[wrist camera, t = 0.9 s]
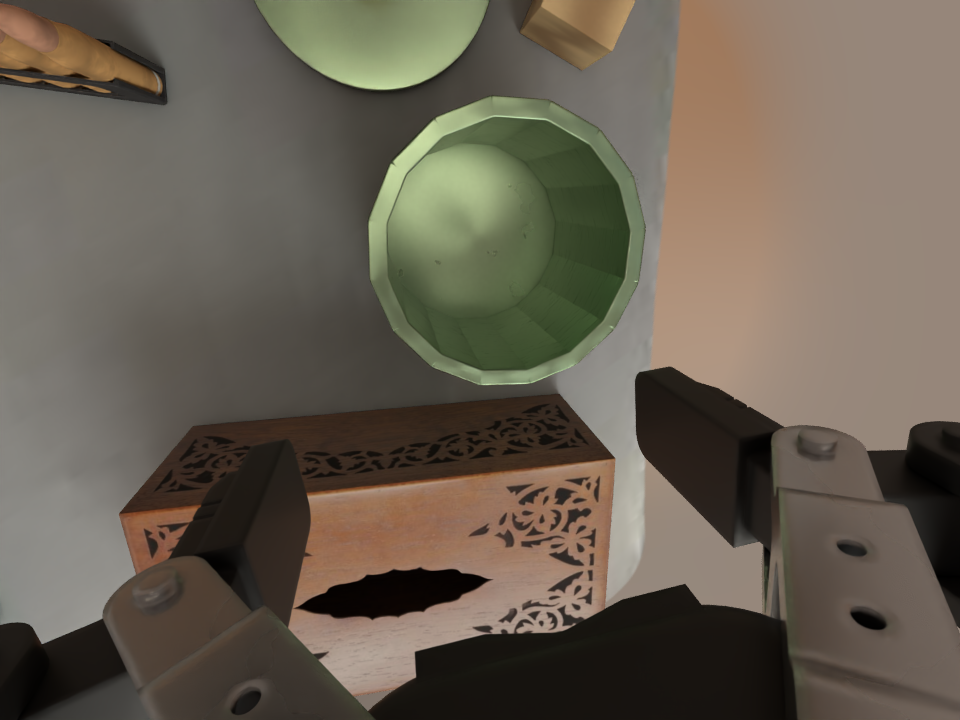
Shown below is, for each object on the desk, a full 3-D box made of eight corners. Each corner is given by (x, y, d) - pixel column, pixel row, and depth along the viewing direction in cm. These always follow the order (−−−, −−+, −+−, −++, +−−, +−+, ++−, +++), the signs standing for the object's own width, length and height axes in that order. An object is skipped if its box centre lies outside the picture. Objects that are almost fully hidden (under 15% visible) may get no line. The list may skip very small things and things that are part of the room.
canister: (341, 174, 31) (316, 162, 20) (530, 100, 31) (604, 51, 21) (420, 354, 35) (434, 424, 24) (584, 287, 36) (669, 326, 25)
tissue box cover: (230, 597, 38) (180, 726, 29) (192, 426, 34) (118, 513, 25) (554, 552, 43) (601, 652, 33) (559, 393, 38) (615, 458, 29)
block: (519, 32, 30) (540, 6, 26) (552, -47, 29) (579, -88, 25) (582, 70, 31) (612, 51, 27) (615, -4, 30) (652, -37, 26)
